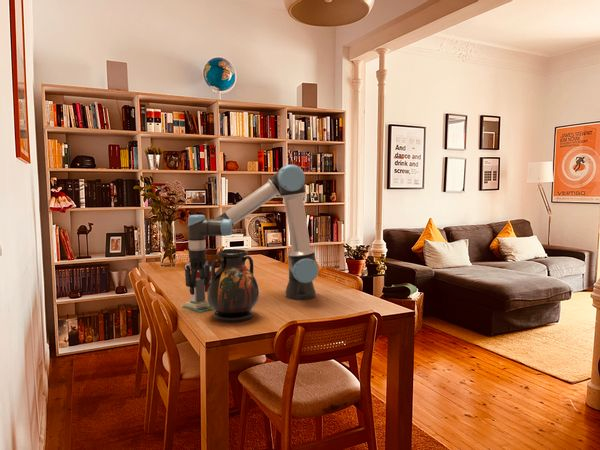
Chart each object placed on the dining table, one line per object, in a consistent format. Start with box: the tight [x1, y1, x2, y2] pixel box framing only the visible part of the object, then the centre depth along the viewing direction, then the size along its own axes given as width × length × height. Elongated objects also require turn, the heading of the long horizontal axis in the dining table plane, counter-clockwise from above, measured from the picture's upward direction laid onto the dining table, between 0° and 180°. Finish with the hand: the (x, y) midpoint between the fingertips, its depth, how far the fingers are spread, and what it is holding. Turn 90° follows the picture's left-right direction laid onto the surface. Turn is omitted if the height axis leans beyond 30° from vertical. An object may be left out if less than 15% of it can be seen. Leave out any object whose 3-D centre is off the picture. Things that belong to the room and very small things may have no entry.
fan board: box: [182, 298, 214, 314], centre depth 201 cm, size 13×9×3 cm
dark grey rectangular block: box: [195, 278, 206, 303], centre depth 202 cm, size 5×4×10 cm
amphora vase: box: [206, 248, 260, 323], centre depth 186 cm, size 22×22×28 cm
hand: (198, 300), depth 202 cm, fingers closed on dark grey rectangular block, 4 cm apart
